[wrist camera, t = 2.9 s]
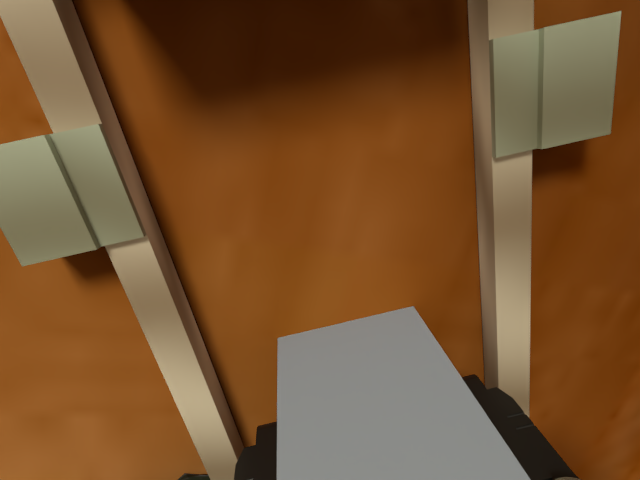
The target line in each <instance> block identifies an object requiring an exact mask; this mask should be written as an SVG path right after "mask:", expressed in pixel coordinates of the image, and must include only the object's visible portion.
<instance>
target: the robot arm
mask: <svg viewBox="0 0 640 480" xmlns="http://www.w3.org/2000/svg"><path fill="white" fill-rule="evenodd" d="M462 379H463V380H464V382H465V383H466V385H467V386H468V388H469V389H470V391H471V392H472V394H473V395H474V397H475V398H476V400H477V401H478V403H479V404H480V406H481V407H482V409H483V410H484V411H485V413H486V414H487V416H488V417H489V419H490V420H491V422H492V423H493V425H494V426H495V428H496V429H497V431H498V432H499V434H500V435H501V437H502V438H503V440H504V441H505V443H506V444H507V446H508V447H509V448H510V450H511V451H512V453H513V454H514V456H515V457H516V459H517V460H518V462H519V463H520V465H521V466H522V468H523V469H524V471H525V472H526V474H527V475H528V477H529V478H530V480H581V479H579V478H578V477H577V476H576V475H575V474H574V473H573V472H572V471H571V469H570V468H569V467H568V466H567V464H566V463H565V462H564V461H563V460H562V458H561V457H560V456H559V455H558V453H557V452H556V451H555V450H554V448H553V447H552V446H551V445H550V443H549V442H548V441H547V440H546V438H545V437H544V436H543V435H542V433H541V432H540V431H539V430H538V429H537V427H536V426H534V424H533V422H532V421H531V420H530V419H529V417H528V416H527V415H525V414H524V411H523V410H522V409H521V407H520V406H519V405H518V404H517V402H516V401H515V400H514V399H513V398H512V397H511V396H509V395H508V394H506V393H505V392H503V391H502V390H500V389H499V388H497V387H495V388H491V389H486V387H485V386H484V385H483V383H482V382H481V381H480V379H479V378H478V377H477V376H476V375H474V374H473V375H469V376H465V377H462ZM234 480H277V422H273V423H269V424H264V425H260V426H258V427H257V434H256V445H254V446H250V447H246V448H244V449H243V451H242V453H241V455H240V457H239V459H238V461H237V463H236V465H235V473H234Z"/></svg>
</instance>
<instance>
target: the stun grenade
mask: <svg viewBox="0 0 640 480" xmlns="http://www.w3.org/2000/svg"><path fill="white" fill-rule="evenodd" d="M178 480H210V478H209V475H197V474H184V475H182V476H181V477H180V478H179V479H178Z"/></svg>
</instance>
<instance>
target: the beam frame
mask: <svg viewBox="0 0 640 480" xmlns="http://www.w3.org/2000/svg"><path fill="white" fill-rule="evenodd" d="M0 16H1V18H2V21H3V23H4V25H5V27H6V29H7V32H8V34H9V36H10V38H11V41H12V43H13V45H14V47H15V49H16V52H17V54H18V56H19V58H20V60H21V63H22V65H23V67H24V69H25V71H26V74H27V76H28V78H29V80H30V82H31V85H32V87H33V89H34V91H35V93H36V96H37V98H38V100H39V102H40V105H41V107H42V109H43V111H44V113H45V116H46V118H47V120H48V122H49V124H50V127H51V129H52V131H53V133H54V134H49V135H42V136H37V137H33V138H28V139H23V140H19V141H14V142H10V143H5V144H0V227H1V229H2V231H3V233H4V235H5V236H6V238H7V240H8V242H9V244H10V245H11V247H12V249H13V251H14V253H15V254H16V256H17V258H18V260H19V262H20V263H21V265H22V266H26V265H30V264H35V263H39V262H44V261H48V260H52V259H57V258H61V257H66V256H70V255H75V254H79V253H84V252H88V251H92V250H97V249H98V248H100V247H102V246H105V248H106V250H107V252H108V255H109V257H110V259H111V261H112V263H113V266H114V268H115V270H116V272H117V274H118V277H119V279H120V281H121V283H122V286H123V288H124V290H125V292H126V294H127V297H128V299H129V301H130V303H131V305H132V308H133V310H134V312H135V314H136V316H137V319H138V321H139V323H140V325H141V327H142V330H143V332H144V334H145V336H146V339H147V341H148V343H149V345H150V347H151V350H152V352H153V354H154V356H155V358H156V361H157V363H158V365H159V367H160V369H161V372H162V374H163V376H164V378H165V380H166V383H167V385H168V387H169V389H170V391H171V394H172V396H173V398H174V400H175V403H176V405H177V407H178V409H179V411H180V414H181V416H182V418H183V420H184V422H185V425H186V427H187V429H188V431H189V433H190V436H191V438H192V440H193V442H194V444H195V447H196V449H197V451H198V453H199V456H200V458H201V460H202V462H203V464H204V467H205V469H206V471H207V473H208V475H209V478H210V480H234V473H235V465H236V463H237V461H238V459H239V457H240V455H241V453H242V451H243V449H244V446H243V443H242V441H241V438H240V435H239V433H238V430H237V428H236V425H235V422H234V420H233V417H232V415H231V412H230V409H229V407H228V404H227V402H226V399H225V397H224V394H223V391H222V389H221V386H220V384H219V381H218V378H217V376H216V373H215V371H214V368H213V365H212V363H211V360H210V358H209V355H208V352H207V350H206V347H205V345H204V342H203V339H202V337H201V334H200V332H199V329H198V326H197V324H196V321H195V319H194V316H193V314H192V311H191V308H190V306H189V303H188V301H187V298H186V295H185V293H184V290H183V288H182V285H181V282H180V280H179V277H178V275H177V272H176V269H175V267H174V264H173V262H172V259H171V256H170V254H169V251H168V249H167V246H166V244H165V241H164V238H163V236H162V233H161V231H160V228H159V225H158V223H157V220H156V218H155V215H154V212H153V210H152V207H151V205H150V202H149V199H148V197H147V194H146V192H145V189H144V186H143V184H142V181H141V179H140V176H139V173H138V171H137V168H136V166H135V163H134V161H133V158H132V155H131V153H130V150H129V148H128V145H127V142H126V140H125V137H124V135H123V132H122V129H121V127H120V124H119V122H118V119H117V116H116V114H115V111H114V109H113V106H112V103H111V101H110V98H109V96H108V93H107V91H106V88H105V85H104V83H103V80H102V78H101V75H100V72H99V70H98V67H97V65H96V62H95V59H94V57H93V54H92V52H91V49H90V46H89V44H88V41H87V39H86V36H85V33H84V31H83V28H82V26H81V23H80V20H79V18H78V15H77V13H76V10H75V8H74V5H73V2H72V0H0ZM620 21H621V11H619V12H614V13H610V14H605V15H600V16H596V17H591V18H586V19H582V20H577V21H572V22H568V23H563V24H558V25H554V26H549V27H544V28H541V29H537V30H534V0H468V22H469V44H470V66H471V88H472V110H473V132H474V154H475V176H476V198H477V220H478V242H479V264H480V286H481V308H482V330H483V352H484V374H485V387H486V389H491V388H495V387H497V388H499V389H500V390H502V391H503V392H505V393H506V394H508V395H509V396H511V397H512V398H513V399H514V400H515V401H516V402H517V404H518V405H519V406H520V407H521V409H522V410H523V411H524V414H525V415H527V416H528V417H529V389H530V303H531V218H532V150H533V149H546V148H550V147H555V146H559V145H563V144H568V143H572V142H577V141H581V140H586V139H590V138H595V137H599V136H603V135H608V134H611V124H612V112H613V101H614V89H615V78H616V67H617V55H618V44H619V32H620Z"/></svg>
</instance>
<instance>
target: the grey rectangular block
mask: <svg viewBox="0 0 640 480" xmlns="http://www.w3.org/2000/svg"><path fill="white" fill-rule="evenodd" d="M277 480H530V478H529V477H528V475H527V474H526V472H525V471H524V469H523V468H522V466H521V465H520V463H519V462H518V460H517V459H516V457H515V456H514V454H513V453H512V451H511V450H510V448H509V447H508V446H507V444H506V443H505V441H504V440H503V438H502V437H501V435H500V434H499V432H498V431H497V429H496V428H495V426H494V425H493V423H492V422H491V420H490V419H489V417H488V416H487V414H486V413H485V411H484V410H483V409H482V407H481V406H480V404H479V403H478V401H477V400H476V398H475V397H474V395H473V394H472V392H471V391H470V389H469V388H468V386H467V385H466V383H465V382H464V380H463V379H462V377H461V376H460V375H459V373H458V372H457V370H456V369H455V367H454V366H453V364H452V363H451V361H450V360H449V358H448V357H447V355H446V354H445V352H444V351H443V349H442V348H441V346H440V345H439V343H438V342H437V340H436V339H435V338H434V336H433V335H432V333H431V332H430V330H429V329H428V327H427V326H426V324H425V323H424V321H423V320H422V318H421V317H420V315H419V314H418V312H417V311H416V309H415V308H414V306H412V307H408V308H404V309H399V310H395V311H391V312H387V313H382V314H378V315H374V316H370V317H365V318H361V319H357V320H353V321H348V322H344V323H340V324H336V325H332V326H327V327H323V328H319V329H315V330H310V331H306V332H302V333H298V334H293V335H289V336H285V337H281V338H278V372H277Z"/></svg>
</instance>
